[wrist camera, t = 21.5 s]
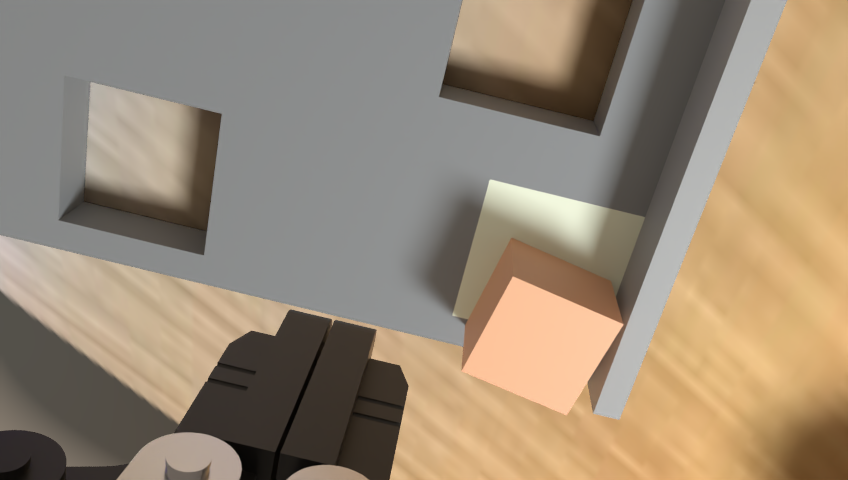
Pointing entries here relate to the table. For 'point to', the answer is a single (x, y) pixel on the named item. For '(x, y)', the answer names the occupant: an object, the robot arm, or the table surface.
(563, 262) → the block
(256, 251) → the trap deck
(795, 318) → the table surface
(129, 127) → the table surface
